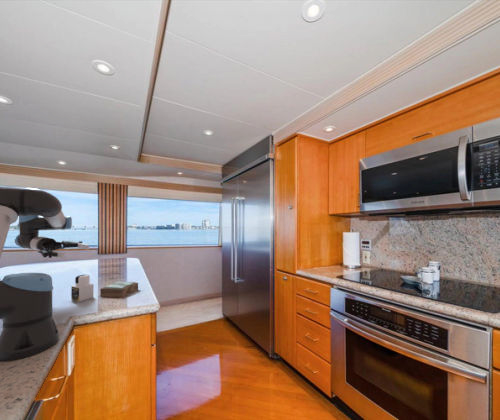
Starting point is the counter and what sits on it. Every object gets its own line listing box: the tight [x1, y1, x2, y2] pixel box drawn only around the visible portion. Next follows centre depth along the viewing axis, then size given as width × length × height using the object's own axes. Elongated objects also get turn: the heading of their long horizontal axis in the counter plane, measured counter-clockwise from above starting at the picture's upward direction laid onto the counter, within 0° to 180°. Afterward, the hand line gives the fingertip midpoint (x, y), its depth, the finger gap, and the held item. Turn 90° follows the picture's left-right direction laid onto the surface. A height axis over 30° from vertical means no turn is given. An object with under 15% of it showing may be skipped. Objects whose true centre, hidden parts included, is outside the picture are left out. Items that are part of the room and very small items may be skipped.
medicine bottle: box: [70, 274, 94, 302], centre depth 122 cm, size 7×7×12 cm
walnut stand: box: [100, 281, 139, 298], centre depth 131 cm, size 13×13×4 cm
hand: (76, 251), depth 121 cm, fingers open, 13 cm apart
